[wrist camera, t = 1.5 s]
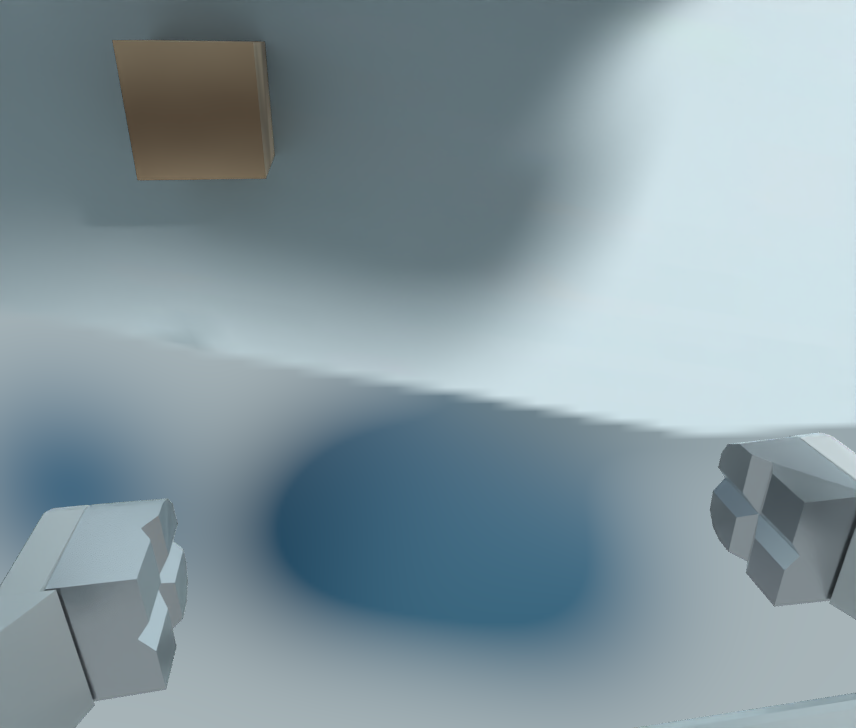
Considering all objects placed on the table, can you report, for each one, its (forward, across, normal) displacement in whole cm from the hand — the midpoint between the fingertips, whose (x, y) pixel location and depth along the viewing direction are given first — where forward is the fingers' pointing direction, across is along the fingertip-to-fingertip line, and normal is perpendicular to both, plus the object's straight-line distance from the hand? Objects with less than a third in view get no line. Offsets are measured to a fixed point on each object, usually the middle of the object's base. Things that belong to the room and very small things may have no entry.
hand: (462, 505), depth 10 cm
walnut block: (+26, +6, -4) cm, 27 cm away
